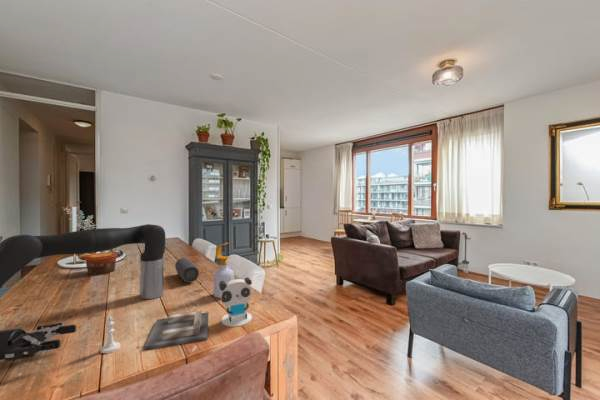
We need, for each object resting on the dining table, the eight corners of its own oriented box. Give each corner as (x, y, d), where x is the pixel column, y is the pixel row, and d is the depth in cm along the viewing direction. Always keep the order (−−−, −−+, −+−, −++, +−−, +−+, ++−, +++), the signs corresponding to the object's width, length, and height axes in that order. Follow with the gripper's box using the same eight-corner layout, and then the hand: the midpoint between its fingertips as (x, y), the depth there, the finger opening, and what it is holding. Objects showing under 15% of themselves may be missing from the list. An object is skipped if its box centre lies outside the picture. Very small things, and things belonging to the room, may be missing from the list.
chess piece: (107, 344, 81) (106, 313, 81) (123, 343, 82) (123, 312, 82) (96, 354, 76) (95, 321, 76) (113, 353, 77) (113, 320, 77)
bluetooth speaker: (200, 282, 138) (200, 264, 137) (181, 286, 132) (181, 267, 132) (191, 272, 156) (191, 255, 156) (174, 274, 151) (174, 257, 151)
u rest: (144, 350, 78) (144, 340, 78) (157, 322, 96) (156, 314, 95) (207, 339, 84) (207, 330, 84) (208, 314, 101) (208, 307, 101)
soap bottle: (228, 299, 116) (228, 245, 116) (210, 297, 118) (209, 244, 117) (237, 291, 125) (236, 241, 124) (219, 290, 127) (219, 240, 126)
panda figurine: (221, 329, 90) (221, 287, 90) (218, 315, 101) (217, 277, 100) (255, 322, 95) (255, 282, 95) (248, 310, 105) (248, 273, 105)
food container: (104, 276, 148) (104, 257, 148) (77, 276, 148) (76, 257, 148) (123, 268, 164) (123, 251, 164) (99, 268, 164) (98, 251, 164)
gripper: (-29, 347, 64) (53, 335, 69) (14, 320, 77) (79, 312, 82) (-28, 376, 64) (54, 363, 69) (14, 344, 77) (80, 335, 83)
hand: (68, 335), depth 76 cm, fingers open, 8 cm apart
